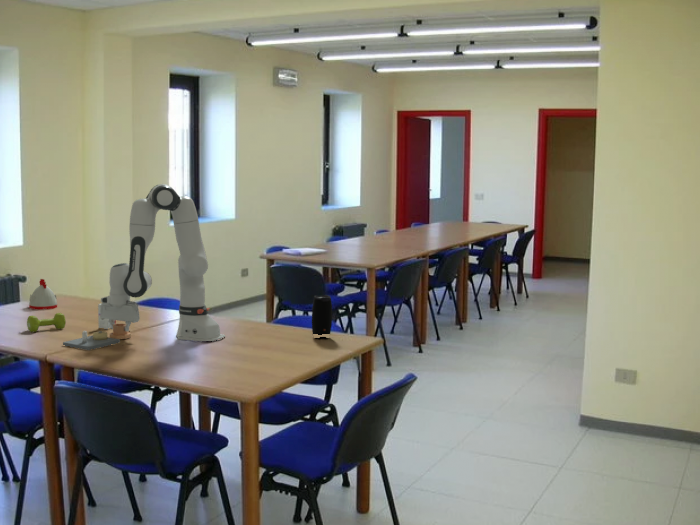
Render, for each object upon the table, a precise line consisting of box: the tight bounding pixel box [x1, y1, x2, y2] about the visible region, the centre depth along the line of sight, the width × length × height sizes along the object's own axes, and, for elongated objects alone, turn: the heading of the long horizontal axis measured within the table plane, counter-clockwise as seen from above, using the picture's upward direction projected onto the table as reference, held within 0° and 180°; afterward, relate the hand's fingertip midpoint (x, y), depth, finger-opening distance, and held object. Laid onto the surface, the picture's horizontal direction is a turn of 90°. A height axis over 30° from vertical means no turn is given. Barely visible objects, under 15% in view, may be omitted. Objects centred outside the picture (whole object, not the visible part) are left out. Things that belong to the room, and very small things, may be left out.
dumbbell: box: [26, 312, 67, 333], centre depth 378 cm, size 16×8×7 cm, turn 131°
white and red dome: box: [28, 278, 58, 311], centre depth 432 cm, size 14×14×15 cm
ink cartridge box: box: [97, 302, 117, 330], centre depth 387 cm, size 9×5×15 cm, turn 168°
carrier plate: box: [62, 330, 121, 351], centre depth 352 cm, size 15×18×6 cm
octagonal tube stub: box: [109, 323, 132, 340], centre depth 367 cm, size 9×9×6 cm
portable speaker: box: [311, 294, 333, 335], centre depth 379 cm, size 9×9×20 cm
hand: (120, 330), depth 367 cm, fingers closed on octagonal tube stub, 6 cm apart
